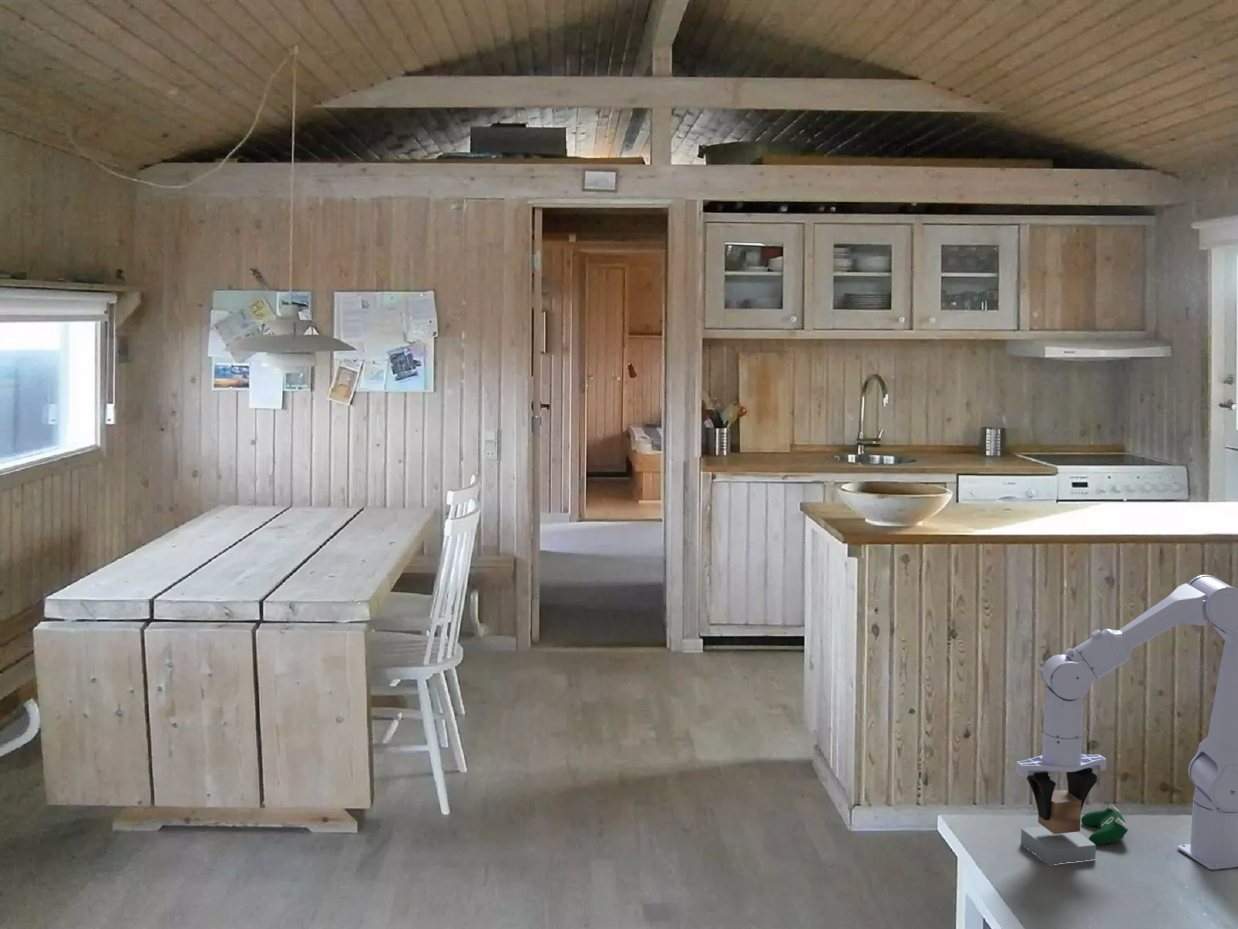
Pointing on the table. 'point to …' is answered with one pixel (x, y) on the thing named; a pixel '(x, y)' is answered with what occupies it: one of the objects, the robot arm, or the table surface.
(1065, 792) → the walnut block
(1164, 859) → the table surface
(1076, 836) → the slate block
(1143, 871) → the table surface
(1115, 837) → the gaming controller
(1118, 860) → the table surface
